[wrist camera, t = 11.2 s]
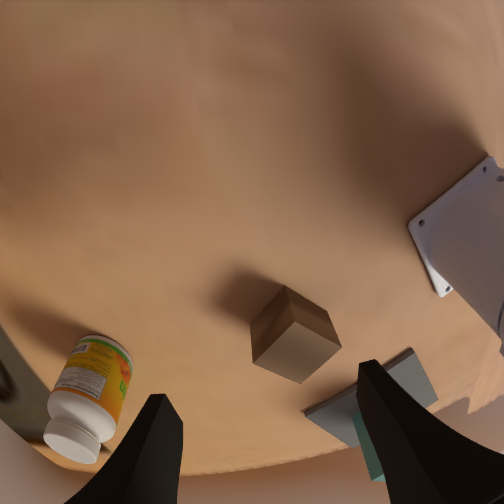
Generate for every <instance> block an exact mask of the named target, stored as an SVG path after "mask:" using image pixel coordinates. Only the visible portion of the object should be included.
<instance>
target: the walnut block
mask: <svg viewBox="0 0 504 504" xmlns="http://www.w3.org/2000/svg"><path fill="white" fill-rule="evenodd" d="M250 331H251V345H252V358H253V364H255V365H258V366H260V367H262V368H264V369H267V370H269V371H271V372H273V373H276V374H278V375H280V376H283V377H285V378H287V379H290V380H292V381H295V382H297V383H299V384H301V383H302V382H303V381H304V380H306V379H307V378H308V377H309V376H310V375H312V374H313V373H314V372H315V371H316V370H317V369H318V368H320V367H321V366H322V365H323V364H324V363H325V362H326V361H327V360H329V359H330V358H331V357H332V356H333V355H334V354H335V353H336V352H337V351H338V350H340V349H341V348H342V346H341V344H340V341H339V339H338V336H337V334H336V331H335V329H334V327H333V324H332V322H331V319H330V317H329V315H328V312H327V311H326V310H324V309H322V308H321V307H319V306H318V305H316V304H314V303H313V302H311V301H309V300H308V299H306V298H305V297H303V296H301V295H300V294H298V293H296V292H295V291H293V290H292V289H290V288H288V287H287V286H284V287H283V288H282V290H281V291H280V292H279V293H278V294H277V295H276V296H275V298H274V299H273V300H272V301H271V302H270V303H269V304H268V305H267V307H266V308H265V309H264V310H263V311H262V312H261V313H260V314H259V315H258V316H257V318H256V319H255V320H254V321H253V322H252V323H251V324H250Z"/></svg>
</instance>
